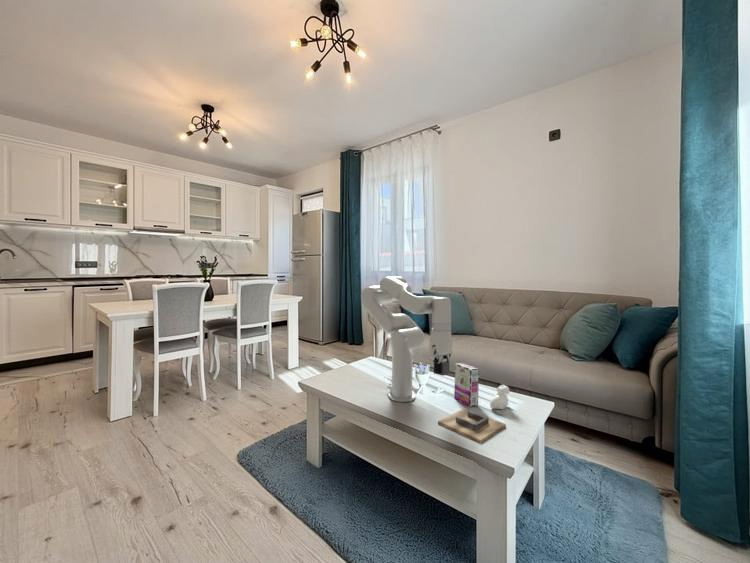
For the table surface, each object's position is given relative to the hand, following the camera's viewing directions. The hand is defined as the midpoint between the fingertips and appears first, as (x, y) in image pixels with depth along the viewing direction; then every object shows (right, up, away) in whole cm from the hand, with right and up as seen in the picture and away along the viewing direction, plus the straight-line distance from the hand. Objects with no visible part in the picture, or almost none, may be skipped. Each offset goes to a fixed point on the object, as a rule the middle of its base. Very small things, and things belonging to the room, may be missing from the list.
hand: (441, 371), depth 128 cm
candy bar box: (+14, -18, +14) cm, 26 cm away
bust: (+27, -18, +8) cm, 34 cm away
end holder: (+10, -18, -9) cm, 22 cm away
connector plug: (0, -1, 0) cm, 1 cm away
